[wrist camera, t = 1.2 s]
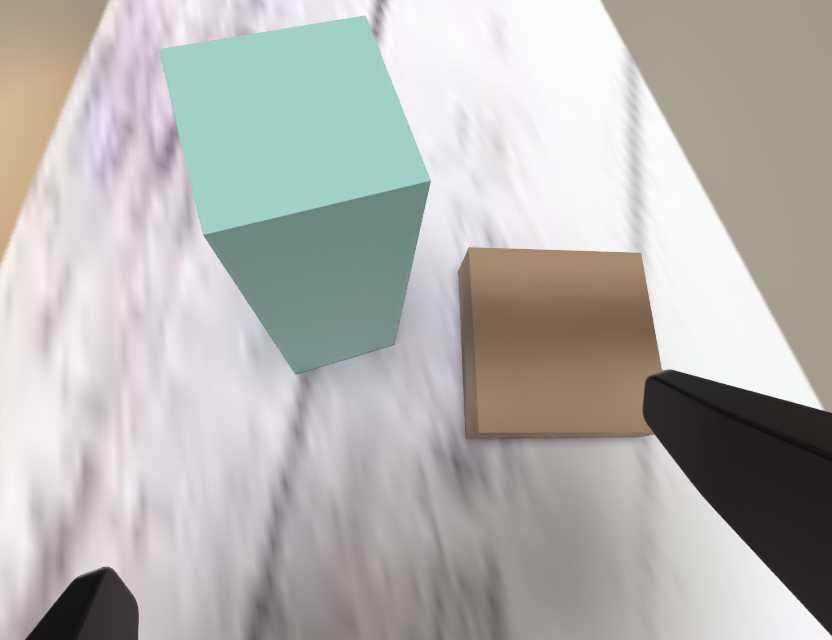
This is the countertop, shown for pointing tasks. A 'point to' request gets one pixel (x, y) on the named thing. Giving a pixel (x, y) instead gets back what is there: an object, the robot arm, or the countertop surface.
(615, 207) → the countertop surface
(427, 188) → the teal block
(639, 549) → the countertop surface
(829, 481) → the robot arm
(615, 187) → the countertop surface
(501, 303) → the walnut slab
